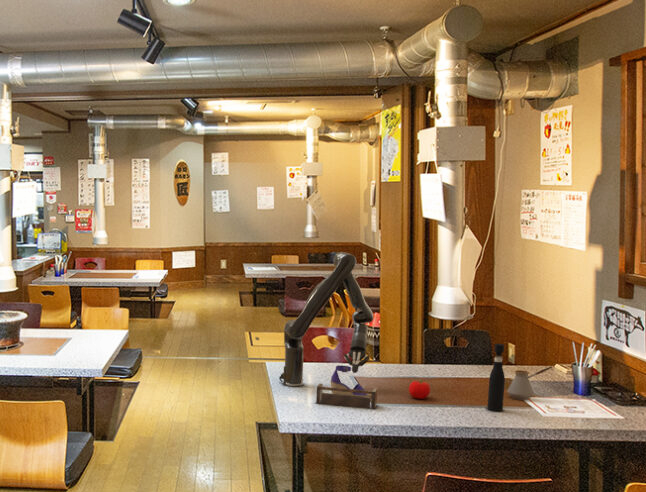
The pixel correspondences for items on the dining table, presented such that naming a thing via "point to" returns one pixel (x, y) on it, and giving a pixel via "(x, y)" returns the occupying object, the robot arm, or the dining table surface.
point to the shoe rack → (346, 397)
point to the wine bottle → (496, 382)
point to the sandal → (337, 384)
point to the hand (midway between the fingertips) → (354, 372)
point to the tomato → (419, 389)
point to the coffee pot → (522, 385)
